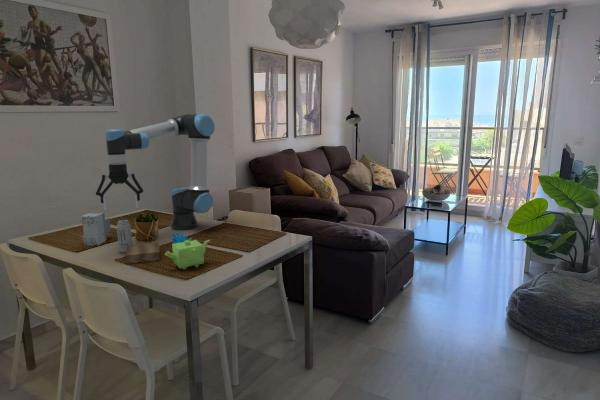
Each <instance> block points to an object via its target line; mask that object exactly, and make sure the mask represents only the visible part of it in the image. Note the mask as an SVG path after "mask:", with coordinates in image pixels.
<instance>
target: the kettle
mask: <svg viewBox="0 0 600 400" xmlns="http://www.w3.org/2000/svg"><path fill="white" fill-rule="evenodd" d="M210 241H211V239H208V240H204V242H203V244H202V243H201V242H199V241H198V240H197V239H194V240H191V241H189V240H187V241H184V242H181V243H176V244H173V243H172V244H171V246H172V248H171V249H172V252H170V251H169V250H166V251H165V253H164V256H166V257H168V258H170V259H172V260H173V263H174V264H175V266H177V268H178V269H181V270H182V269H186V268H187V269H188V267H194V266H195V267H194V268H199V267H198V266H200V265H203V264H205V257H204V255H205V253H206V250H207V249H206V248H207V245H208V243H210ZM187 269H186V270H187Z"/></svg>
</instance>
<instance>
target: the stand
mask: <svg viewBox="0 0 600 400" xmlns="http://www.w3.org/2000/svg"><path fill="white" fill-rule="evenodd" d="M156 260H159V261H161V256H160V245H159V242H154V243H146V244H144V243H143V244H137V245H136V244H135V245H132V246H127V250H126V253H125V263H126V265H132V264H131V263H134V264H139V263H138V262H142V263H149V262H148V261H150V262H157V261H156Z"/></svg>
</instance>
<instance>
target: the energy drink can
mask: <svg viewBox="0 0 600 400" xmlns="http://www.w3.org/2000/svg"><path fill="white" fill-rule="evenodd" d="M131 228H132V226H131V223H130V221H129V220H128V219H121V220H120V219H119V220H118V221H117V223H116V233H117V242H118V243H117V244H118V251H119V252H120V253H121V254H126V250H127V246H133V239H132V238H133V237H132V229H131Z"/></svg>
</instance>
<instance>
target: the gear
mask: <svg viewBox="0 0 600 400" xmlns="http://www.w3.org/2000/svg"><path fill="white" fill-rule="evenodd" d="M171 240H172V244H176V243H181V242H184V241H187V240H189V241H192V237H190V238H188V235H186V234H185V235H184V232H181V233H180V232H175V233H174V234H173V235H172V237H171Z"/></svg>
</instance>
